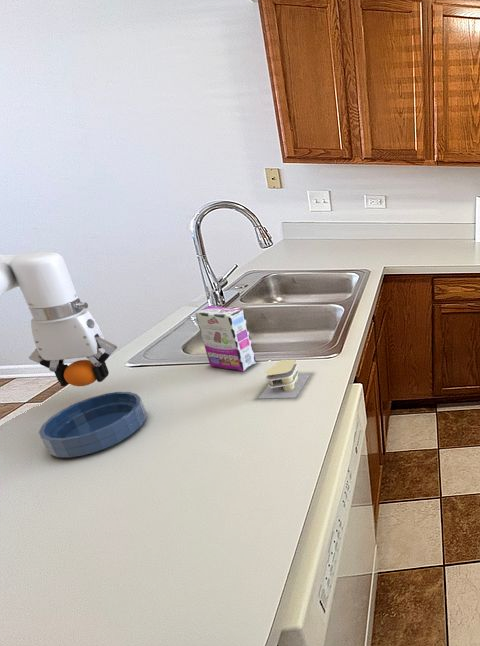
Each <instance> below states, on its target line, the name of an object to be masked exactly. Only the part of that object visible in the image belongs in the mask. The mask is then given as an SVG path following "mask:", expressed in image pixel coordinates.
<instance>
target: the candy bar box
mask: <svg viewBox="0 0 480 646" xmlns="http://www.w3.org/2000/svg"><path fill="white" fill-rule="evenodd" d="M194 315H195V318H196V321H197V325H198V328H199V333H200V335H201V340H202V342H203V345H204V349H205V353H206V356H207V359H208V360H207V361H208V362H209V366H210V367H211V368H216V369H224V370H231V371H237V372H245V371H247V370H248V369H250V368H251V367H253V366H255V365H256V364H257V360H256V356H255V353H254V348H253V344H252V339H251V336H250V331H249V326H248V324H247V319H246V314H245V310H244V309H242V308H232V307H222V306H214V305H213V306H212V305H208V306H206V307H204V308H202V309H200V310H198V311H195V312H194Z"/></svg>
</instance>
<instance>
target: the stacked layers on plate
mask: <svg viewBox="0 0 480 646" xmlns="http://www.w3.org/2000/svg"><path fill="white" fill-rule="evenodd" d="M296 362H297V359H280V360H279V361H277V362H276V363H275V364H273V365H272V366H270V367H269V368H268V369H267V370H265V372H264V373H265V375H266V377H265V378H266V379H267V380H268V383H267V386H266V387H265V389H264V390H263V391H262V392H261V394H260V395H259V396H258V399H289V398H290V399H292V398H293V399H294V398H295V399H296V398H297V396H298V395H299V394H300V392H301V390H302V388H303V387H304V385H305V384H306V382H307V381H308V380H309V378H310V376H311V373H310V374H305V373H304V374H303V373H302V374H299V370H297V367H298V364H297V363H296Z"/></svg>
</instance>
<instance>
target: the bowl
mask: <svg viewBox="0 0 480 646" xmlns="http://www.w3.org/2000/svg"><path fill="white" fill-rule="evenodd" d="M146 420H147V411H146V409H145V406H144V403H143V401H142V398H141V397H140V396H139V395H138V394H137V393H136V392H133V391H132V392H131V391H115V392H107V393H103V394H99V395H96V396H92V397H91V396H90V397H89V398H85V399H84V400H80V401H78V402H75V403H73V404H71V405H69V406H67V407H65V408H62V409H61V410H60V411H58V412H57V413H55V414H53V415H52V416H50V417H49V418H48V419H47V420H46V421H45V422H44V423H43V424H42V425H41V427H40V429H39V431H38V434H39V436H40V438H41V440H42V442H43V445H44V446H45V448H46V451H48V453H49V455H51V456H53V457H56V458H75V457H80V456H88V455H91V454H94V453H97V452H100V451H103V450H106V449H108V448H110V447H112V446H114V445H116V444H118V443H120V442H122V441H123V440H126V439H127V438H128V437H129V436H131V435H132V434H133V433H135V432H136V431H137V430H138V429H140V428H141V427H142V425H143V424H144V423H145V421H146Z"/></svg>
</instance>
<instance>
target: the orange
mask: <svg viewBox="0 0 480 646" xmlns="http://www.w3.org/2000/svg"><path fill="white" fill-rule="evenodd" d="M94 366H95V365H94V364H93V363H92V362H91V361H89V360H88V359H79V360H76V361H73V362H71V363H70V364H68V367H67V368H66V369H65V371H64V378H65V380H66V381H67V382H68V383H69V384H68V385H70V386H75V387H85V386H89V385H91V384H93V383H96V382H97V379H96V377H95V374H94V372H93V369H92V368H93V367H94Z"/></svg>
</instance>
